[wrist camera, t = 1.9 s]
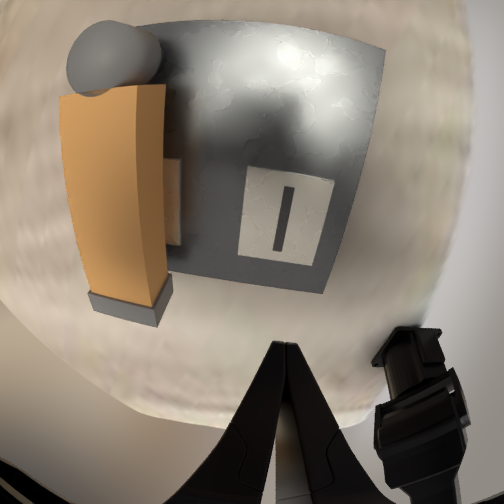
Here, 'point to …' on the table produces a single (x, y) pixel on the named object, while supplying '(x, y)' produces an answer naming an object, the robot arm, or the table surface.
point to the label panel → (262, 147)
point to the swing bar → (117, 169)
